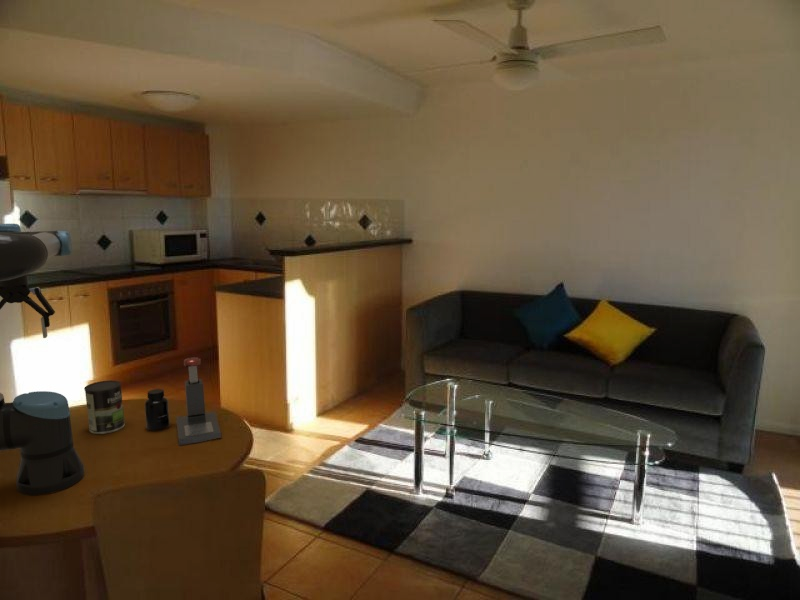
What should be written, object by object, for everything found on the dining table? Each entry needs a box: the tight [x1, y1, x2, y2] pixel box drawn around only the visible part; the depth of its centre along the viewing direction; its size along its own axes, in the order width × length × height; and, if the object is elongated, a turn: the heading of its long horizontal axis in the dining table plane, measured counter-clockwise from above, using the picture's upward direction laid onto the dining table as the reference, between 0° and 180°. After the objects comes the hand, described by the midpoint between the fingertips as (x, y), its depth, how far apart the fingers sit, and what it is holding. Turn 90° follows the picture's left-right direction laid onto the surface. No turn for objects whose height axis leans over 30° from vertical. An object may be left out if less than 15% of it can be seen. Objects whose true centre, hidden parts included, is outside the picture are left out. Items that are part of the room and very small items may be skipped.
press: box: [175, 378, 222, 446], centre depth 179 cm, size 18×12×14 cm, turn 23°
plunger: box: [183, 356, 202, 384], centre depth 183 cm, size 5×5×12 cm
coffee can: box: [84, 379, 126, 435], centre depth 182 cm, size 10×10×14 cm
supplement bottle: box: [144, 388, 170, 432], centre depth 182 cm, size 7×7×12 cm
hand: (20, 339), depth 184 cm, fingers open, 13 cm apart
